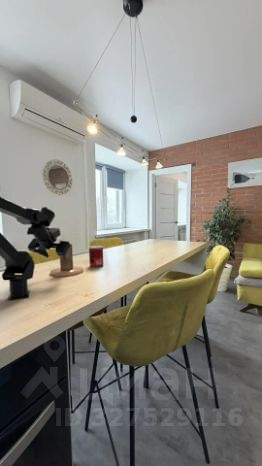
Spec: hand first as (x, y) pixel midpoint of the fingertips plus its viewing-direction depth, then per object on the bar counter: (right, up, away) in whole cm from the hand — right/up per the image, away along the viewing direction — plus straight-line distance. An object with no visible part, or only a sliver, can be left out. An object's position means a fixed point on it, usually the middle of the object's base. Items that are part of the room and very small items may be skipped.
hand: (56, 258), depth 103 cm
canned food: (+15, -7, +23) cm, 28 cm away
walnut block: (+2, -7, +9) cm, 12 cm away
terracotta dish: (+2, -8, +9) cm, 13 cm away
